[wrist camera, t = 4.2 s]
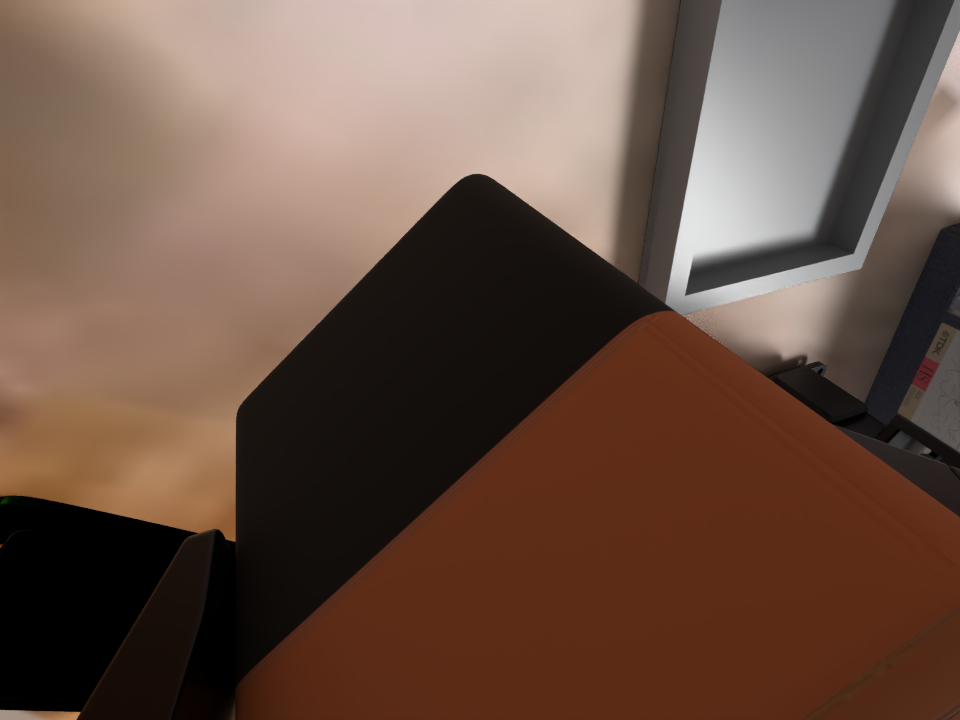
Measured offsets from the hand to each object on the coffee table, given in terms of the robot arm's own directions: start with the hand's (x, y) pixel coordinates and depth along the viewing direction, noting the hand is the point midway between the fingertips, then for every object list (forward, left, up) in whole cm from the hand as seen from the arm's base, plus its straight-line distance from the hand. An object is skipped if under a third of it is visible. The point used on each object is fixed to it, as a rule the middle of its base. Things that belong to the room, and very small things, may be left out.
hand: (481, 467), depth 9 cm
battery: (0, 0, -4) cm, 4 cm away
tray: (0, -18, -13) cm, 22 cm away
